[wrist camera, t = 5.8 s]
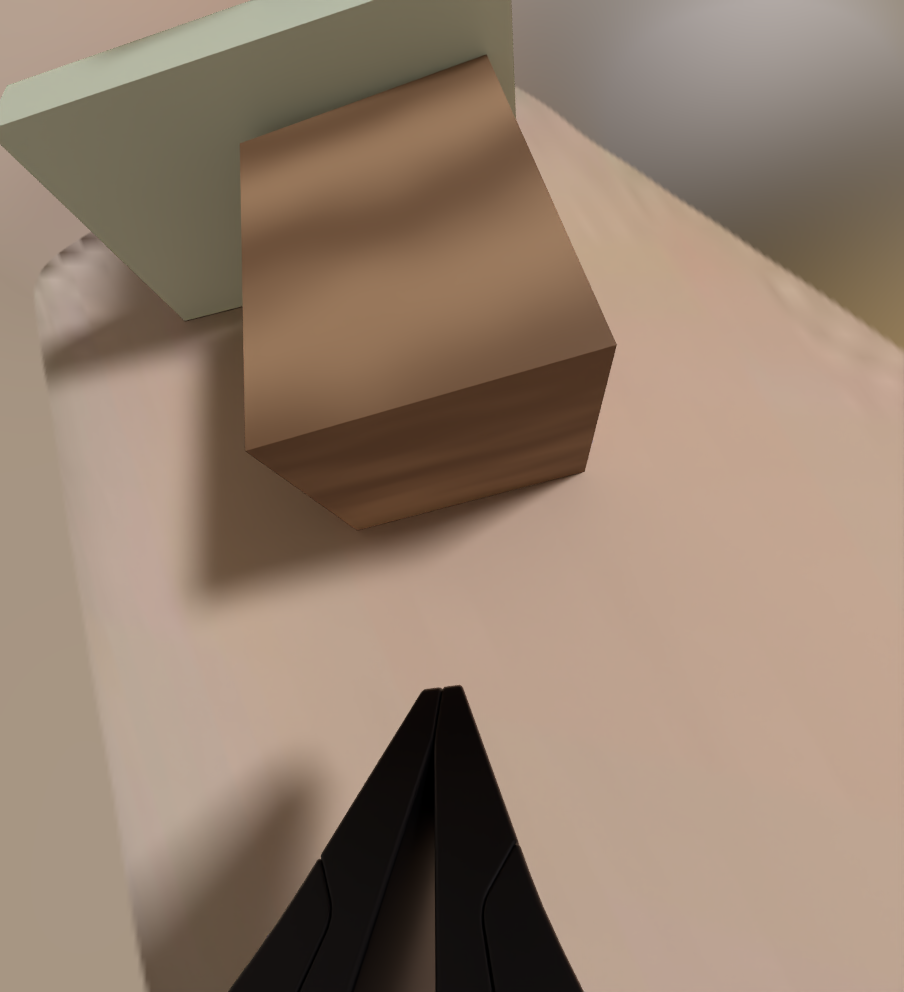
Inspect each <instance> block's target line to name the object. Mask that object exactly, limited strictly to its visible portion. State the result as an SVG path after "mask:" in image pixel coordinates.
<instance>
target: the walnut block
mask: <svg viewBox="0 0 904 992" xmlns="http://www.w3.org/2000/svg"><path fill="white" fill-rule="evenodd" d="M240 187H241V243H242V299H243V356H244V412H245V451H246V452H247V453H249V454H250V455H252V456H253V457H254V458H256V459H257V460H259V461H260V462H261V463H263V464H264V465H266V466H267V467H268V468H270V469H271V470H273V471H274V472H276V473H277V474H278V475H280V476H281V477H283V478H284V479H285V480H287V481H288V482H290V483H291V484H292V485H294V486H295V487H297V488H298V489H300V490H301V491H302V492H304V493H305V494H307V495H308V496H309V497H311V498H312V499H314V500H315V501H316V502H318V503H319V504H321V505H322V506H323V507H325V508H326V509H328V510H329V511H331V512H332V513H333V514H335V515H336V516H338V517H339V518H340V519H342V520H343V521H345V522H346V523H347V524H349V525H350V526H352V527H353V528H354V529H356V530H361V529H365V528H368V527H372V526H376V525H380V524H384V523H388V522H392V521H395V520H399V519H403V518H407V517H411V516H415V515H419V514H423V513H426V512H430V511H434V510H438V509H442V508H446V507H450V506H453V505H457V504H461V503H465V502H469V501H473V500H477V499H480V498H484V497H488V496H492V495H496V494H500V493H504V492H507V491H511V490H515V489H519V488H523V487H527V486H531V485H534V484H538V483H542V482H546V481H550V480H554V479H558V478H561V477H565V476H569V475H573V474H577V473H581V472H585V468H586V464H587V460H588V456H589V452H590V448H591V444H592V440H593V436H594V432H595V428H596V424H597V420H598V416H599V413H600V409H601V405H602V401H603V397H604V393H605V389H606V385H607V381H608V377H609V373H610V369H611V365H612V361H613V357H614V353H615V349H616V345H617V344H616V342H615V340H614V338H613V335H612V333H611V331H610V329H609V327H608V324H607V322H606V320H605V318H604V315H603V313H602V311H601V309H600V306H599V304H598V302H597V300H596V297H595V295H594V293H593V291H592V289H591V286H590V284H589V282H588V280H587V277H586V275H585V273H584V271H583V268H582V266H581V264H580V262H579V259H578V257H577V255H576V253H575V251H574V248H573V246H572V244H571V242H570V239H569V237H568V235H567V233H566V230H565V228H564V226H563V224H562V221H561V219H560V217H559V215H558V213H557V210H556V208H555V206H554V204H553V201H552V199H551V197H550V195H549V192H548V190H547V188H546V186H545V183H544V181H543V179H542V177H541V175H540V172H539V170H538V168H537V166H536V163H535V161H534V159H533V157H532V154H531V152H530V150H529V148H528V145H527V143H526V141H525V139H524V137H523V134H522V132H521V130H520V128H519V125H518V123H517V121H516V119H515V116H514V114H513V112H512V110H511V108H510V105H509V103H508V101H507V99H506V96H505V94H504V92H503V90H502V87H501V85H500V83H499V81H498V78H497V76H496V74H495V72H494V70H493V67H492V65H491V63H490V61H489V58H488V56H487V54H486V55H483V56H480V57H478V58H475V59H472V60H469V61H467V62H464V63H461V64H458V65H456V66H453V67H450V68H447V69H444V70H442V71H439V72H436V73H433V74H431V75H428V76H425V77H422V78H420V79H417V80H414V81H411V82H408V83H406V84H403V85H400V86H397V87H395V88H392V89H389V90H386V91H384V92H381V93H378V94H375V95H373V96H370V97H367V98H364V99H361V100H359V101H356V102H353V103H350V104H348V105H345V106H342V107H339V108H337V109H334V110H331V111H328V112H325V113H323V114H320V115H317V116H314V117H312V118H309V119H306V120H303V121H301V122H298V123H295V124H292V125H289V126H287V127H284V128H281V129H278V130H276V131H273V132H270V133H267V134H265V135H262V136H259V137H256V138H253V139H251V140H248V141H245V142H242V143H240Z"/></svg>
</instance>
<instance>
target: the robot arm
mask: <svg viewBox="0 0 904 992" xmlns="http://www.w3.org/2000/svg"><path fill="white" fill-rule="evenodd" d="M228 992H584V991H583V989H582V987H581V985H580V983H579V981H578V979H577V977H576V975H575V973H574V971H573V969H572V967H571V965H570V963H569V961H568V959H567V957H566V955H565V953H564V951H563V949H562V946H561V944H560V942H559V940H558V938H557V936H556V933H555V931H554V929H553V927H552V925H551V923H550V920H549V918H548V916H547V914H546V912H545V910H544V907H543V905H542V902H541V900H540V897H539V895H538V892H537V890H536V887H535V885H534V882H533V880H532V877H531V875H530V872H529V869H528V867H527V864H526V861H525V858H524V855H523V853H522V850H521V847H520V846H519V843H518V839H517V837H516V834H515V831H514V828H513V826H512V823H511V820H510V817H509V814H508V812H507V809H506V806H505V803H504V800H503V798H502V795H501V792H500V789H499V787H498V784H497V781H496V778H495V775H494V773H493V770H492V767H491V764H490V762H489V759H488V756H487V753H486V750H485V748H484V745H483V742H482V739H481V736H480V734H479V731H478V728H477V725H476V723H475V720H474V717H473V714H472V711H471V709H470V706H469V703H468V700H467V698H466V695H465V692H464V689H463V687H462V686H461V685H455V686H447V687H444V688H443V689H442V688H431V689H425V690H423V691H422V692H421V693H420V695H419V697H418V698H417V700H416V702H415V703H414V705H413V706H412V708H411V710H410V711H409V713H408V715H407V716H406V718H405V719H404V721H403V723H402V724H401V726H400V727H399V729H398V731H397V732H396V734H395V736H394V737H393V739H392V740H391V742H390V744H389V745H388V747H387V749H386V750H385V752H384V753H383V755H382V757H381V758H380V760H379V761H378V763H377V765H376V766H375V768H374V770H373V771H372V773H371V774H370V776H369V778H368V779H367V781H366V783H365V784H364V786H363V787H362V789H361V791H360V792H359V794H358V795H357V797H356V799H355V800H354V802H353V804H352V805H351V807H350V808H349V810H348V812H347V813H346V815H345V817H344V818H343V820H342V821H341V823H340V825H339V826H338V828H337V829H336V831H335V833H334V834H333V836H332V838H331V839H330V841H329V842H328V844H327V846H326V847H325V849H324V851H323V852H322V854H321V859H318V860H317V861H316V863H315V865H314V866H313V868H312V870H311V871H310V873H309V874H308V876H307V878H306V879H305V881H304V883H303V884H302V886H301V887H300V889H299V890H298V892H297V893H296V895H295V896H294V898H293V900H292V901H291V903H290V904H289V906H288V907H287V909H286V910H285V912H284V913H283V915H282V917H281V918H280V920H279V921H278V922H277V924H276V925H275V927H274V928H273V930H272V931H271V932H270V934H269V935H268V937H267V938H266V940H265V941H264V942H263V944H262V945H261V947H260V948H259V950H258V951H257V952H256V954H255V955H254V957H253V958H252V960H251V961H250V962H249V964H248V965H247V966H246V968H245V969H244V971H243V972H242V973H241V975H240V976H239V977H238V979H237V980H236V982H235V983H234V984H233V986H232V987H231V988H230V990H229V991H228Z"/></svg>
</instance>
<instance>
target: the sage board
mask: <svg viewBox="0 0 904 992" xmlns="http://www.w3.org/2000/svg"><path fill="white" fill-rule="evenodd" d="M511 8H512V6H511V0H251V1H248V2H245V3H242V4H239V5H236V6H234V7H231V8H228V9H225V10H222V11H219V12H216V13H213V14H211V15H208V16H205V17H202V18H199V19H196V20H194V21H191V22H188V23H185V24H182V25H179V26H176V27H173V28H171V29H168V30H165V31H162V32H160V33H157V34H154V35H151V36H148V37H145V38H142V39H139V40H136V41H133V42H130V43H128V44H125V45H122V46H119V47H116V48H113V49H110V50H108V51H105V52H102V53H99V54H96V55H93V56H90V57H88V58H85V59H82V60H79V61H76V62H73V63H71V64H67V65H65V66H62V67H59V68H56V69H53V70H50V71H47V72H45V73H42V74H39V75H36V76H33V77H30V78H28V79H25V80H22V81H19V82H16V83H13V84H10V85H7V87H6V89H5V91H4V93H3V95H2V98H1V100H0V144H1V146H3V147H4V148H5V149H6V150H7V151H8V152H9V153H10V154H11V155H12V156H13V157H14V158H15V159H16V160H17V161H18V162H19V163H20V164H21V165H22V166H24V168H26V169H27V170H28V171H29V172H30V173H31V174H32V175H33V176H34V177H35V178H36V179H37V180H38V181H39V182H40V183H41V184H42V185H43V186H44V187H45V188H46V189H47V190H49V191H50V192H51V193H52V194H53V195H54V196H55V197H56V198H57V199H58V200H59V201H60V202H61V203H62V204H63V205H64V206H65V207H66V208H67V209H68V210H69V211H70V212H72V213H73V214H74V215H75V216H76V217H77V218H78V219H79V220H80V221H81V222H82V223H83V224H84V225H85V226H86V227H87V228H88V229H89V230H90V231H91V232H92V233H93V234H94V235H95V236H97V237H98V238H99V239H100V240H101V241H102V242H103V243H104V244H105V245H106V246H107V247H108V248H109V249H110V250H111V251H112V252H113V253H114V254H115V255H116V256H117V257H118V258H120V259H121V260H122V261H123V262H124V263H125V264H126V265H127V266H128V267H129V268H130V269H131V270H132V271H133V272H134V273H135V274H136V275H137V276H138V277H139V278H140V279H141V280H142V281H144V282H145V283H146V284H147V285H148V286H149V287H150V288H151V289H152V290H153V291H154V292H155V293H156V294H157V295H158V296H159V297H160V298H161V299H162V300H163V301H164V302H165V303H167V304H168V305H169V306H170V307H171V308H172V309H173V310H174V311H175V312H176V313H177V314H178V315H179V316H180V317H181V318H182V319H183V320H184V321H186V320H190V319H194V318H198V317H202V316H206V315H210V314H214V313H218V312H222V311H226V310H230V309H234V308H238V307H242V306H243V299H242V243H241V187H240V143H242V142H245V141H248V140H251V139H253V138H256V137H259V136H262V135H265V134H267V133H270V132H273V131H276V130H278V129H281V128H284V127H287V126H289V125H292V124H295V123H298V122H301V121H303V120H306V119H309V118H312V117H314V116H317V115H320V114H323V113H325V112H328V111H331V110H334V109H337V108H339V107H342V106H345V105H348V104H350V103H353V102H356V101H359V100H361V99H364V98H367V97H370V96H373V95H375V94H378V93H381V92H384V91H386V90H389V89H392V88H395V87H397V86H400V85H403V84H406V83H408V82H411V81H414V80H417V79H420V78H422V77H425V76H428V75H431V74H433V73H436V72H439V71H442V70H444V69H447V68H450V67H453V66H456V65H458V64H461V63H464V62H467V61H469V60H472V59H475V58H478V57H480V56H483V55H486V54H487V56H488V58H489V61H490V63H491V65H492V67H493V70H494V72H495V74H496V76H497V78H498V81H499V83H500V85H501V87H502V90H503V92H504V94H505V96H506V99H507V101H508V103H509V105H510V108H511V110H512V112H513V114H514V116H515V119H516V109H515V83H514V57H513V33H512V32H513V31H512V9H511Z"/></svg>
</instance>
